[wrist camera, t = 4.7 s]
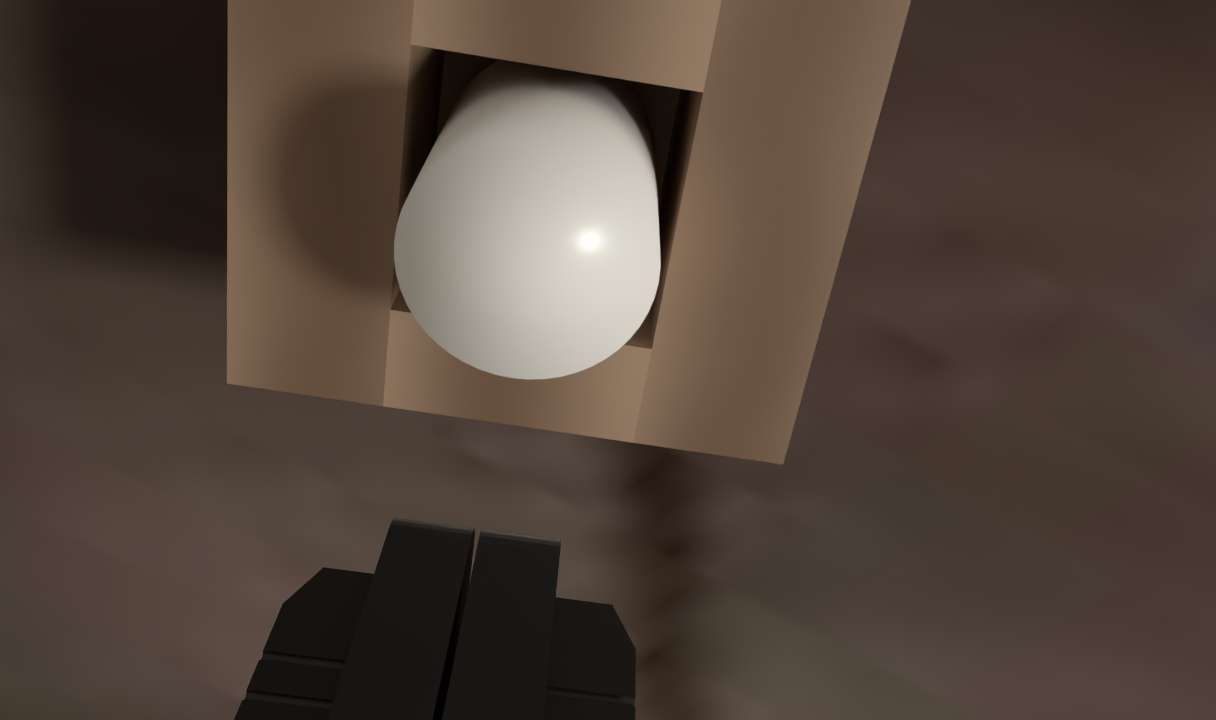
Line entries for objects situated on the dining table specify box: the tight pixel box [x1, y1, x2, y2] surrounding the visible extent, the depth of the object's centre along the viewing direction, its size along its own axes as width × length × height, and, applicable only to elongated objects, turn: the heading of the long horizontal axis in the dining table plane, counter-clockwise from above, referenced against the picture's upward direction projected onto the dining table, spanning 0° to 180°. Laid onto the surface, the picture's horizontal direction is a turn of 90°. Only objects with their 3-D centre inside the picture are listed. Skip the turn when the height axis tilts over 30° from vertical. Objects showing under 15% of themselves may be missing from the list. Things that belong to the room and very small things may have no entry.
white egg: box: [394, 59, 661, 380], centre depth 22 cm, size 5×5×6 cm
